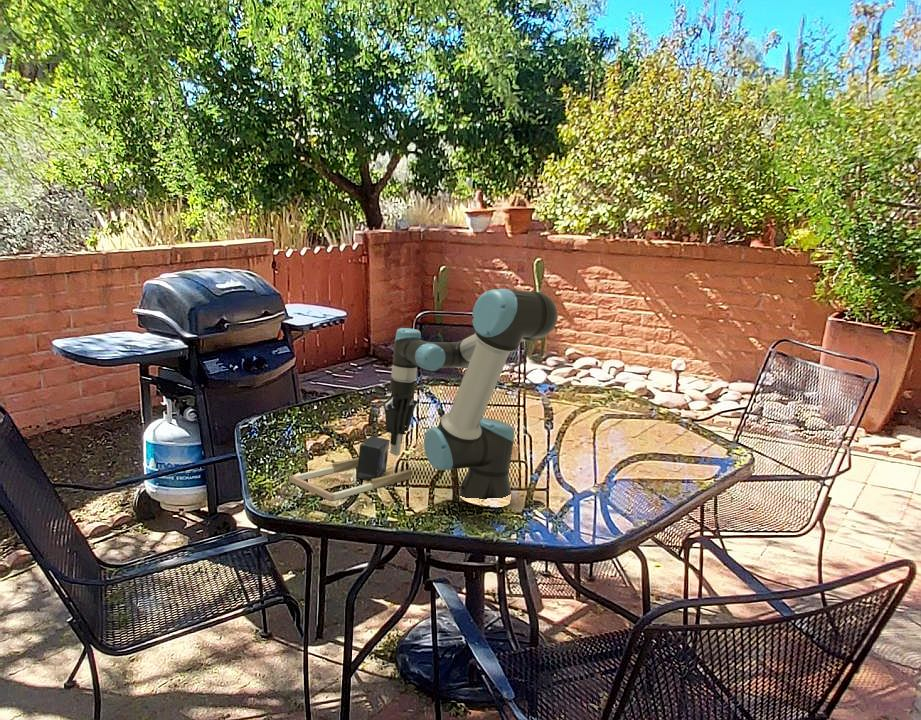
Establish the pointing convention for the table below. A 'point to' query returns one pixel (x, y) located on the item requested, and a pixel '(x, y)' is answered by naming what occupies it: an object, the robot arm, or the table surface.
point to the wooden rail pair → (377, 481)
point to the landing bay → (300, 482)
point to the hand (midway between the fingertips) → (394, 454)
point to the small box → (372, 458)
